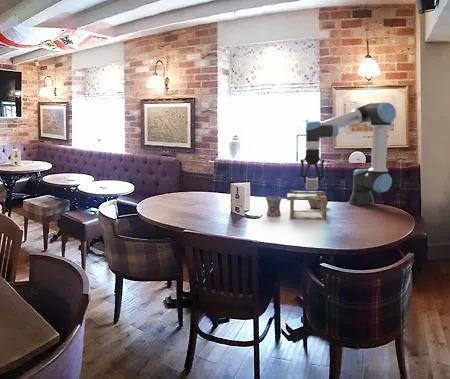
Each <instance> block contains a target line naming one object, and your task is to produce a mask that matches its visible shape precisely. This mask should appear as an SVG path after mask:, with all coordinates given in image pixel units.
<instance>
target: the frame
mask: <svg viewBox="0 0 450 379" xmlns="http://www.w3.org/2000/svg"><path fill="white" fill-rule="evenodd" d="M290 193H296V194H321V196H290V200H289V201H290V202H289V203H290V204H289V207H290V208H289V209H290V211H289V213H290V214H289V219H291V220H319V221H320V220H323V221H324V220H325V221H326V220H327V208H328V207H327V206H328V204H327V201H328V199H327V198H328V197H327V196H326V195H325V194H326V192H325V191H324V190H323V191H321V190H290ZM294 199H295V200H308V199H313V200H321V208H320V210H310V209H309V210H303V209H302V210H296V209H295V200H294ZM295 212H320V214H321V217H296V216H295Z"/></svg>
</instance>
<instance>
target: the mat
mask: <svg viewBox="0 0 450 379" xmlns="http://www.w3.org/2000/svg"><path fill="white" fill-rule="evenodd" d="M294 216H296V217H322V216H321V213H320V212H295V213H294Z"/></svg>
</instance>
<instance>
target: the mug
mask: <svg viewBox="0 0 450 379" xmlns="http://www.w3.org/2000/svg"><path fill="white" fill-rule="evenodd" d="M265 200H266V203H267V212H266V215H267V216H269V217H279V216H281V215H282V213H281V208H280V205H281V201H282V197H281V196H277V195H276V196H274V195H273V196H267V197H265Z"/></svg>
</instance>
